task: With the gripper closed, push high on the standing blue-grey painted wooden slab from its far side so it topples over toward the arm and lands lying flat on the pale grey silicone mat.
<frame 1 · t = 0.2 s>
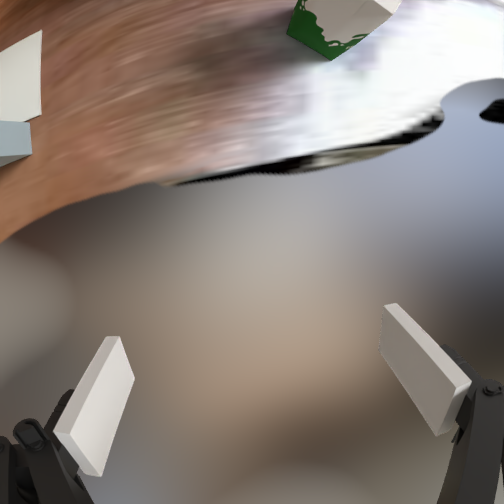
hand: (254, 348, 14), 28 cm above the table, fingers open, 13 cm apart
slab: (10, 146, 35), on the table
mat: (8, 86, 32), on the table
milk carton: (320, 31, 34), on the table
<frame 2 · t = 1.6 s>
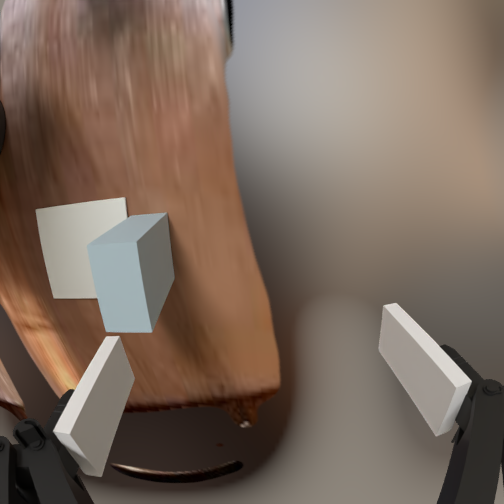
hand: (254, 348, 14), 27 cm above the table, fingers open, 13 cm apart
slab: (152, 247, 40), on the table
mat: (84, 252, 40), on the table
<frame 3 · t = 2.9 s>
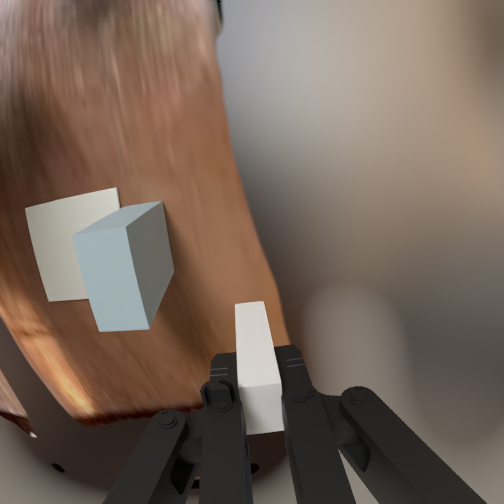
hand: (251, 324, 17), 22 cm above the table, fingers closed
slab: (149, 239, 37), on the table
mat: (77, 249, 37), on the table
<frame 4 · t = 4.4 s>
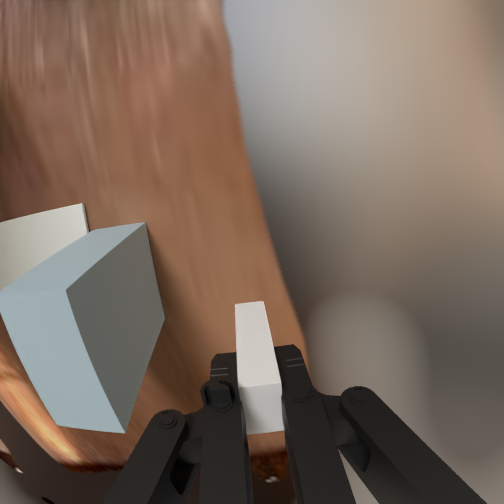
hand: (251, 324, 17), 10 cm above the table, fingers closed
slab: (128, 275, 26), on the table
mat: (39, 284, 26), on the table
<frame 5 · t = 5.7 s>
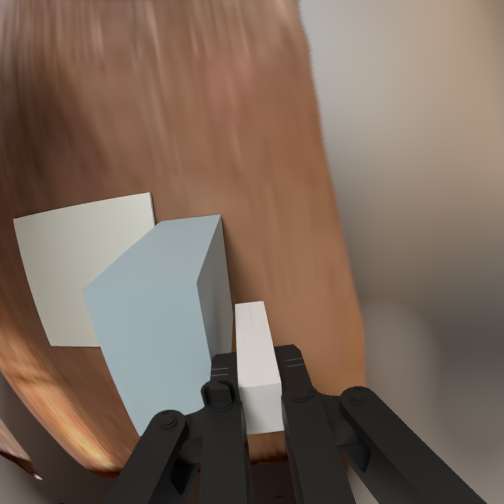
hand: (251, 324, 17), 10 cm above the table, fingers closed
slab: (197, 270, 26), on the table, touching gripper
mat: (89, 280, 26), on the table
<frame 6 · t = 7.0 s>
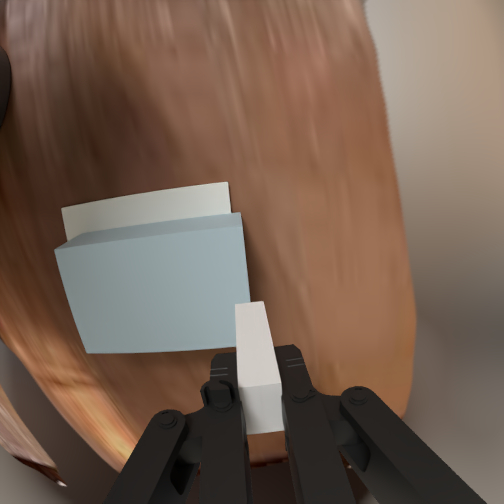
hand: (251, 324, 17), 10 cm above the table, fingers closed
slab: (247, 276, 24), point 3 cm above the table, tilted 90°, touching mat
mat: (151, 273, 26), on the table
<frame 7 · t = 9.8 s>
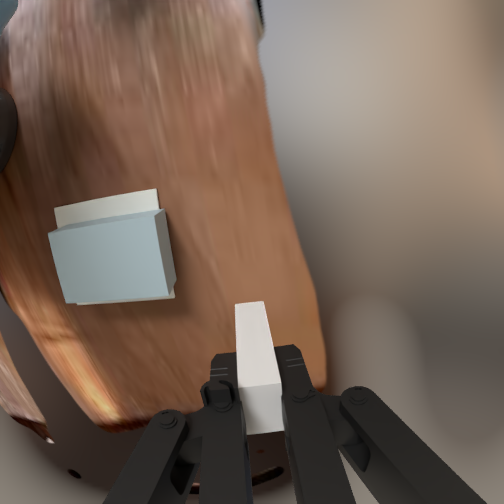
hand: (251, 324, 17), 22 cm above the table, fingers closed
slab: (166, 250, 35), point 3 cm above the table, tilted 90°, touching mat
mat: (111, 251, 37), on the table
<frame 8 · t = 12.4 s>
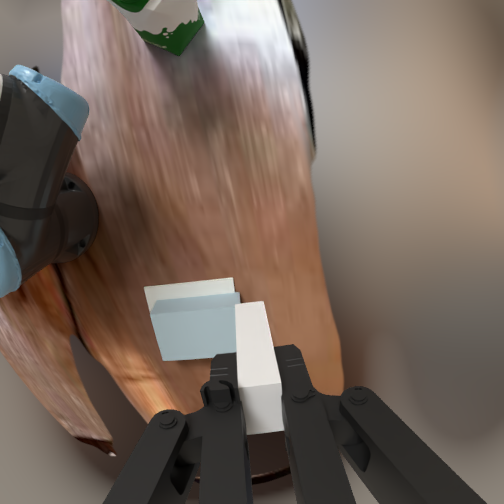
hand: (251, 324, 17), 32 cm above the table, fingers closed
slab: (242, 323, 50), point 3 cm above the table, tilted 90°, touching mat
mat: (194, 319, 52), on the table
milk carton: (174, 31, 38), on the table
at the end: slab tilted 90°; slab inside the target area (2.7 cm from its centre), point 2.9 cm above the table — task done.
